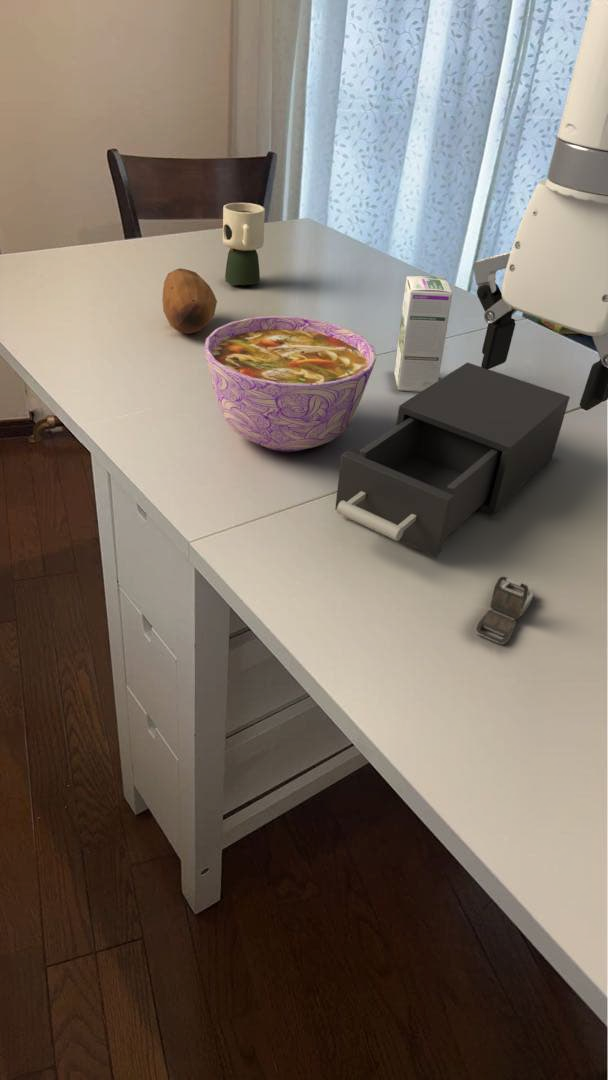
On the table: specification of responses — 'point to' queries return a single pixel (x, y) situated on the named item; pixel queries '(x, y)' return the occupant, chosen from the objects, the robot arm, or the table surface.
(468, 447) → the open drawer with handle
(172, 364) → the table surface
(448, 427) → the small drawer cabinet
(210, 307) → the potato
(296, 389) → the bowl of food
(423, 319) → the syrup box
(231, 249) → the character mug
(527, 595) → the strap clip
